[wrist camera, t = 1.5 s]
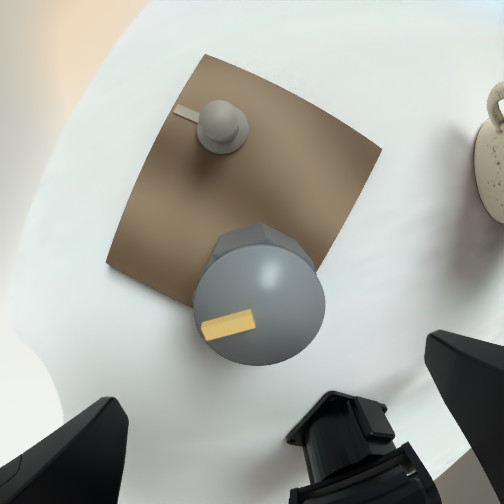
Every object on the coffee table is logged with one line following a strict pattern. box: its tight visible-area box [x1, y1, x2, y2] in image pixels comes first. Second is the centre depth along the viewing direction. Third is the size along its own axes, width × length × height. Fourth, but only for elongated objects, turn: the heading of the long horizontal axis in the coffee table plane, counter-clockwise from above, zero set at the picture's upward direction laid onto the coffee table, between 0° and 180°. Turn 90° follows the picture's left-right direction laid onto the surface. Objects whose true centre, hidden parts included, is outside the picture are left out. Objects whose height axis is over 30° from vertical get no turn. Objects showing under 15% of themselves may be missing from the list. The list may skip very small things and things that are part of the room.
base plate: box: [106, 54, 382, 308], centre depth 14 cm, size 13×11×4 cm
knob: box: [192, 222, 325, 366], centre depth 13 cm, size 5×5×5 cm
